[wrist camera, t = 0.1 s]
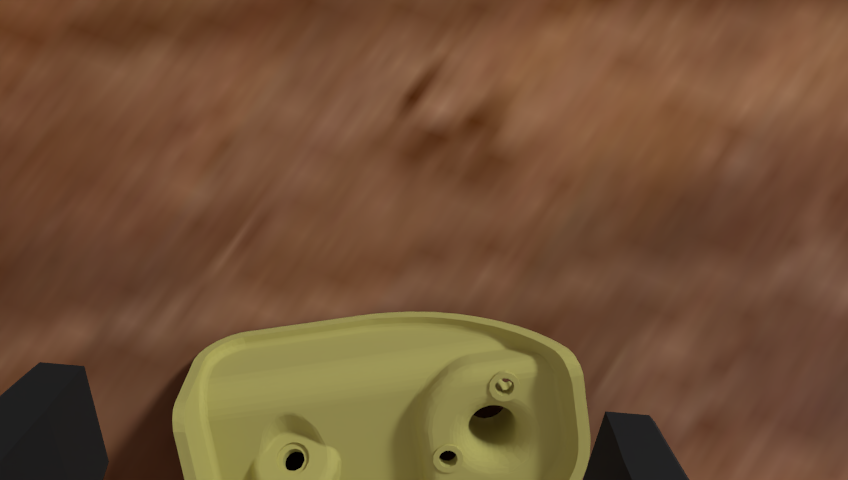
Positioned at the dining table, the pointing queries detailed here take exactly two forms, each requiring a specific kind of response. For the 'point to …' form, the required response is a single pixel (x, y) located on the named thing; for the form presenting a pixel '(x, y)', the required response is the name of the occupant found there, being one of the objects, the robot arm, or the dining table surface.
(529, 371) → the plastic component
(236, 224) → the dining table surface
